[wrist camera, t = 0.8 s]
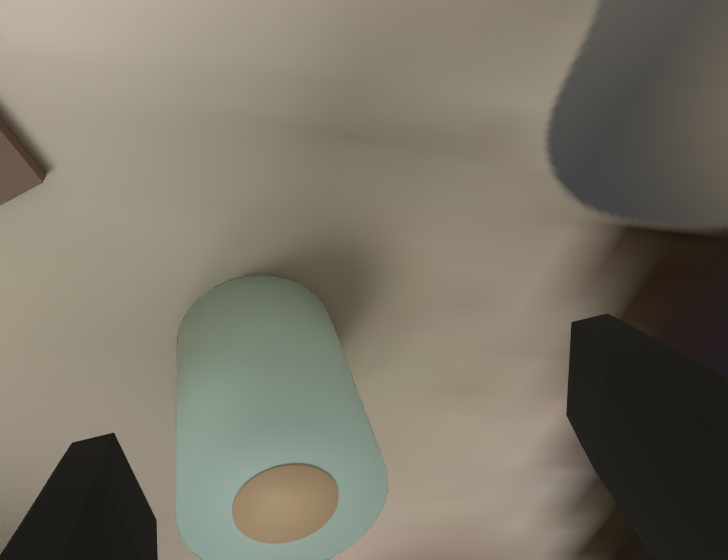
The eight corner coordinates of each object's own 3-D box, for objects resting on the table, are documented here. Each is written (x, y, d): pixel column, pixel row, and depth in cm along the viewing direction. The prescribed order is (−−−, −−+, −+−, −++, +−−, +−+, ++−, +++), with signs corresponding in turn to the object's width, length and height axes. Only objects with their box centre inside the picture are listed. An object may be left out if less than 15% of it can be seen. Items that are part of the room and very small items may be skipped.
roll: (229, 427, 23) (245, 606, 17) (144, 325, 20) (129, 495, 14) (357, 359, 23) (419, 515, 17) (289, 247, 20) (335, 386, 14)
